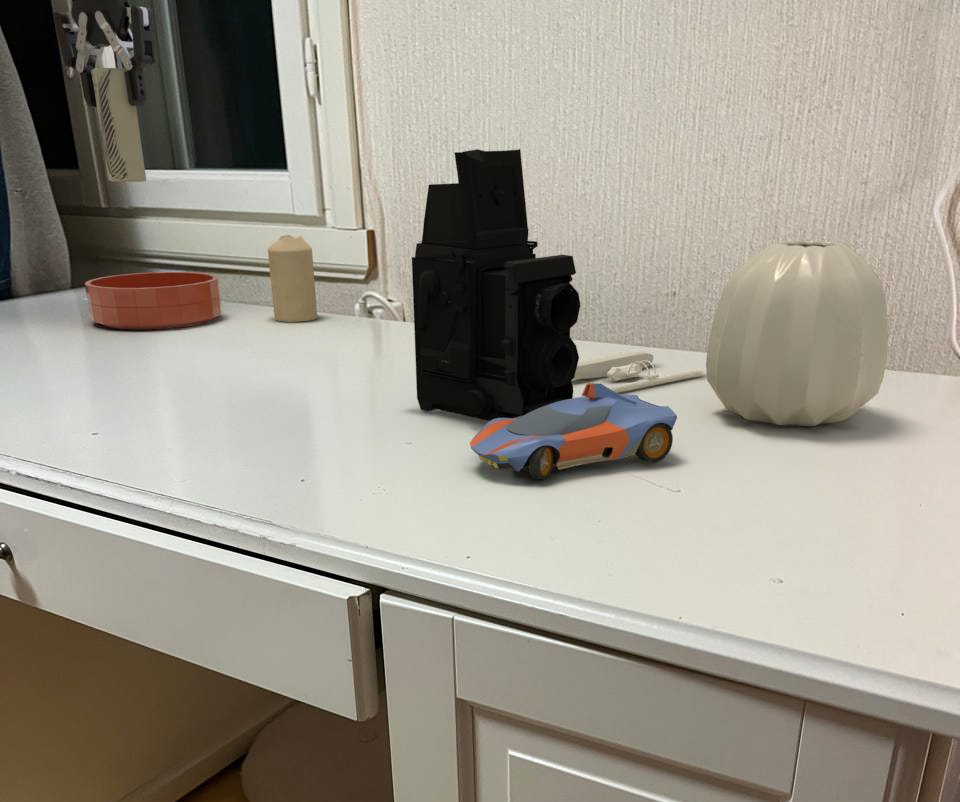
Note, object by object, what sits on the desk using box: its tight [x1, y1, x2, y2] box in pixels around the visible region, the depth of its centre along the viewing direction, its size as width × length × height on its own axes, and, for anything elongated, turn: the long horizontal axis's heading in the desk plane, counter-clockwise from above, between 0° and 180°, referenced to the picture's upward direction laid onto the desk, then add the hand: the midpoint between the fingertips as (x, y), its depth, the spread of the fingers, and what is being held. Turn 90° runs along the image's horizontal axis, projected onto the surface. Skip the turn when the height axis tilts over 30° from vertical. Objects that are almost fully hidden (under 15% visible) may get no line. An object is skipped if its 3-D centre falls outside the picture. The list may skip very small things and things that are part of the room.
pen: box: [572, 350, 654, 380], centre depth 96 cm, size 2×14×2 cm, turn 131°
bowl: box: [84, 271, 223, 331], centre depth 127 cm, size 16×16×5 cm
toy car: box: [469, 382, 678, 480], centre depth 70 cm, size 8×15×5 cm, turn 117°
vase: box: [705, 240, 889, 427], centre depth 79 cm, size 14×14×13 cm
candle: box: [267, 234, 318, 323], centre depth 126 cm, size 6×6×10 cm
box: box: [91, 67, 147, 183], centre depth 126 cm, size 5×4×13 cm
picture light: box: [606, 360, 704, 394], centre depth 93 cm, size 14×4×2 cm, turn 127°
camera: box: [411, 148, 581, 422], centre depth 79 cm, size 10×14×20 cm
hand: (116, 105), depth 125 cm, fingers closed on box, 6 cm apart
